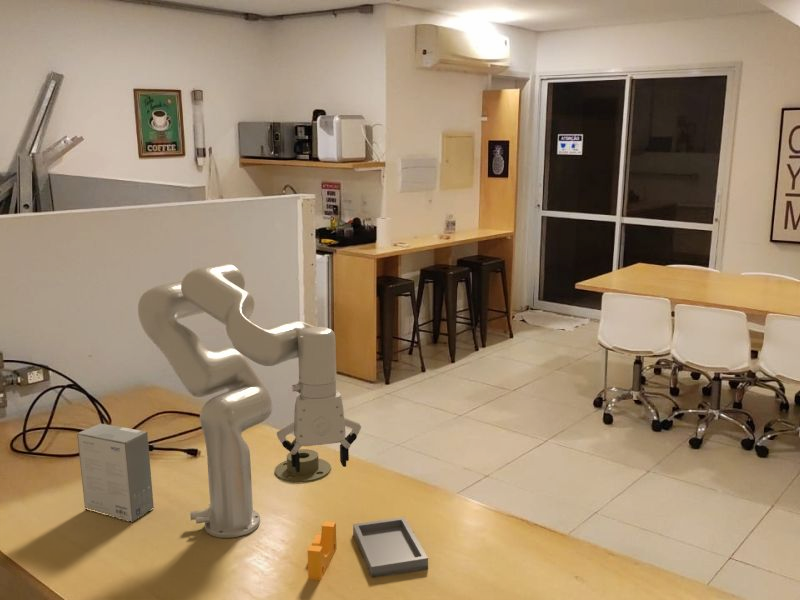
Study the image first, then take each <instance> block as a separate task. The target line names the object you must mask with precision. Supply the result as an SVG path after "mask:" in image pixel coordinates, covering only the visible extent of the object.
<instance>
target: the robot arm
mask: <svg viewBox="0 0 800 600" xmlns="http://www.w3.org/2000/svg"><path fill="white" fill-rule="evenodd" d="M245 285H246V281H245V278H244V275H243V274H242V271H240V269H239V268H237V267H236V266H234V265H233V264H231V263H230V264H229V263H219V264H214V265H208V266H203V267H198V268H196V269H193V270H191V271H189V272H188V273H186V275H185V276H184V277H183V279H182V280H180V281H174V282H169V283H164V284H159V285H156V286H154V287H151V288H149V289H147V290H146V291H144V292H143V294H141V296H140V298H139V301H138V304H137V314H138V319H139V322H140V325H141V328H142V329H143V331H144V333H145V334H146V336H147V337H148V338H149V339H150V340H151V341H152V343H153V344H154V345H155V346H156V347H157V348H158V349H159V351H161V353H162V354H163V356H164V357H165V359H166V360H167V362H168V363H169V365H170V366H171V368H172V370H173V371H174V373H175V374H176V376H177V377H178V379H179V380H180V382H181V384H182V385H183V386H184V388H185V389H186V390H187V392H188V393H189V394H190V395H191V396H192V397H195V398H204V397H207V396H211V395H213V394H216V393H218V392H221V391H223V390H224V391H225V390H227V391H226V392H224V393H221V394H217V395H216V396H214V397H212V398H210V399H208V400H207V401H206V402H205V403H204V404H203V406H202V407H201V409H200V413H199V422H200V427H201V429H202V432H203V433H202V434H203V436H204V441H205V447H206V450H205V451H206V458H207V462H206V463H207V475H208V491H209V504H208V508H204V510H195V511H194V510H193V511H190V514H189V515H190V521H195V523H196V524H202V523H203V524H204V530H205V531H206V533H207V534H209V535H210V536H213V537H217V538H221V539H222V538H223V539H225V538H226V539H227V538H229V539H230V538H238V537H241V536H245V535H248V534H250V533H252V532H254V531H255V530H256V529H257V528H258V527H259V526H260V524H261V516H260V514H259V512H257V511H256V510H254V509H253V508H254V507H253V503H254V502H253V487H252V486H253V484H252V465H251V452H250V448H249V445H248V444H247V441H245V439H244V438H243V436H242V434H243V432H244V431H247V430H248V429H250V428H252V427H255V426H257V425H259V424H261V423H263V422H265V421H267V419H269V418H270V416H271V415H272V412H273V406H274V405H273V400H272V397H271V394H270V393H269V390H268V389H267V387H266V386H265V385H264V382H263V381H262V380H261V378H260V377H259V376H258V373H256V371H255V370H254V368H253V367H252V365H251V363H250V362H249V361H248V359H249V360H251V361H252V362H254V363H255V364H258V365H261V366H264V367H274V366H276V365H280V364H282V363H284V362H288V361H291V360H294V359H298V382H297V383H296V384H291V389H292V392H297V394H296V398H295V403H294V414H293V418H294V419H293V422H292V423H290V424H288V425H287V426H285V427H283V428H281V429H280V430H279V431H277V432H276V436H277V439H278V440H279V441H280V443H281V445H282V447H283V448H284V449H285V450H286V451H289V453H290V452H291V462H292V467H295V469H296V473H297V472H299V471H300V457H299V452H298V450H300V449H302V447H313V446H314V447H315V446H323V445H331V444H337V443H338V444H339V443H340V445H339V461H340V464H341V466H342V467H343V468H344V467H347V462H349V459H350V457H349V456H350V455H349V450H350V447H351V445H352V444H353V443H354V442H355V441H356V440H357V437H358V435H359V433H360V431H361V429H362V426H361V424H360V423H359V422H356V421H354V420H351V419H349V418H346V417H345V411H344V410H345V409H344V404H343V398H342V394H341V393H340V391H338V390H337V349H336V348H337V347H336V346H337V345H336V344H337V343H336V333H335V331H333V329H331V328H328V327H326V326H314V325H312V324H309V323H306V322H304V321H301V320H291V321H287V322H284V323H281V324H278V325H274V326H271V327H270V326H269V327H267V328H262V327H260V326H258V325H256V324H255V323H253V322H252V321H250V319H251V317H252V316H253V313H254V310H255V300H254V297H253V295H252V294H251V293H250V292H248V291H247V290H245ZM202 313H206V314H207V315H209V316H210V317H212V318H214V319H215V320H217V321H218V322H220V323H221V324H223V326H225V330H226V334H227V336H228V339H229V341H230V344H231V345H232V346H233V348H232V347H227V346H225V347H220V348H216V349H214V350H209V349H207V347H205V346H204V344H203V342H202V341H201V339H200V337H199V336H198V335H197V334H196V333H195V332H194V331H192V330H191V329H190V328H189V327H187V326H185V325H184V324H181V323H180V322H178V320H179V319H185V318H188V317H192V316H195V315H199V314H202ZM346 427H347V428H349V429H351V432H350V433H349V434H347V436H346ZM291 433H294V437H295V438H294V439H293V441H290V440H288V439H287V438H286V437H287V436H289V435H290V434H291Z"/></svg>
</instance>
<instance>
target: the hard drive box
mask: <svg viewBox="0 0 800 600" xmlns="http://www.w3.org/2000/svg"><path fill="white" fill-rule="evenodd" d="M148 436H149V435H148V431H145V430H139V429H134V428H130V427H122V426H116V425H111V424H105V423H98V424H96V425H93V426H91V427H87V428H86V429H84V430H81V431H79V432H78V433H77V434H76V437H77V445H78V446H77V448H78V455H79V466H80V475H81V483H82V492H83V493H82V495H83V500H84V504H83V505H84V509H85V508H88V509H91V510H95V511H98V512H101V513H105V514H108V515H111V516H114V517H117V518H121V519H124V520H123V521H125V520H128V521H127V522H129V521H131V522H130V523H132V522H135V521H137V520H138V519H139V518H138V517H140V516H141V517H143V516H145V515H146V514H147V513H146V512H148V511H150V510H151V509H152V508H154V509H155V507H154V495H153V483H152V482H153V481H152V473H151V471H152V469H151V460H150V449H149V437H148ZM151 511H152V510H151ZM151 511H150V512H151ZM145 513H146V514H145ZM148 513H149V512H148ZM144 514H145V515H144ZM142 515H143V516H142ZM114 517H113V518H114ZM141 517H140V518H141ZM117 518H116V519H117ZM137 518H138V519H137ZM134 520H135V521H134Z"/></svg>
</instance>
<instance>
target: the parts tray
mask: <svg viewBox="0 0 800 600" xmlns="http://www.w3.org/2000/svg"><path fill="white" fill-rule="evenodd" d="M352 527H353V528H352V533H353V537H354V540H355V542H356V544H357V546H358V549H359V552H360V553H361V557H362V558H363V561H364V563H365V565H366V568H367V570H368V572H369V575H370V577H371V579H374V578H380V577H389V576H393V575H398V574H406V573H412V572H418V571H425V570H428V569H429V557H428V555H427V554H426V552H425V550H424V549H423V547H422V545H421V543H420V542H419V540H418V538H417V537H416V535H415V533H414V531H413V529H412V528H411V526H410V524H409V522H408V521H407V519H406V518H405V516H403V517H395V518H394V517H393V518H388V519H382V520H381V519H379V520H373V521H368V522H367V521H366V522H361V523H360V522H359V523H354V524H352Z"/></svg>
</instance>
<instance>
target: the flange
mask: <svg viewBox="0 0 800 600" xmlns="http://www.w3.org/2000/svg"><path fill="white" fill-rule="evenodd" d="M298 452H299V457H300V471H299V472H297V473H296V469H295V467H292V462H291V452H290V451H289V453H287V455H286V459H285V460H284V461H281V462H280V463H279V464H277V465H276V466H275V467H274V474H275V476H276V477H277V478H278V479H280V480H281V481H284V482H289V483H295V482H303V483H311V482H315V480H316V481H318V480H321V479H323V477H324V478H325V477H326V476H328V475H329V474H330V473H331V471H332V467H331V464H330V462H328V461H327V460H325V459H324V458H319V453H318V452H317V451H316V450H314V449H313V450H312V449H309V448H308V449H307V448H305V449H304V448H303V449H302V448H300V449H299V450H298ZM285 464H286V465H285Z"/></svg>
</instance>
